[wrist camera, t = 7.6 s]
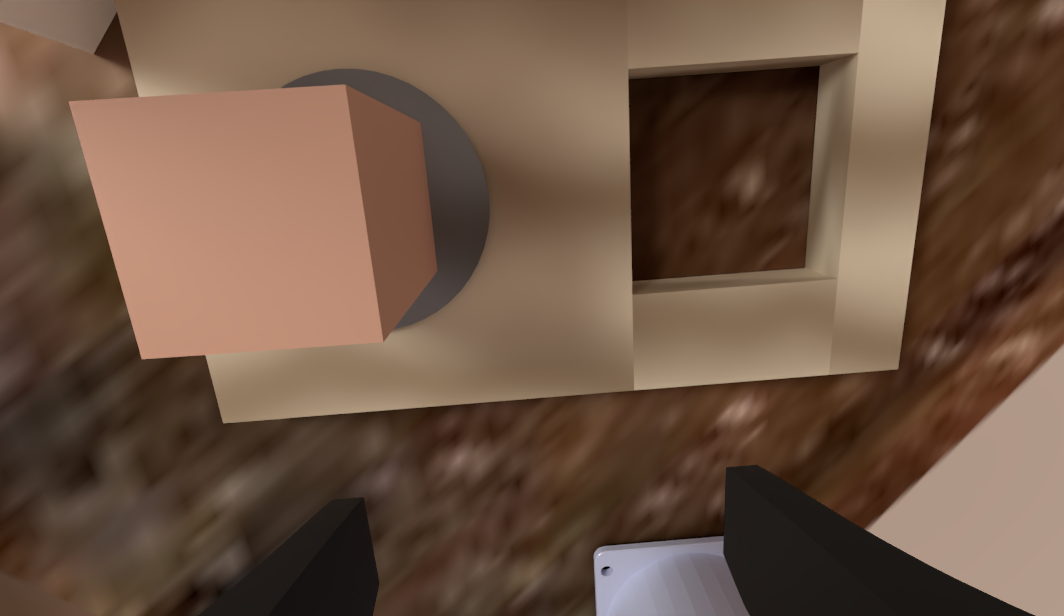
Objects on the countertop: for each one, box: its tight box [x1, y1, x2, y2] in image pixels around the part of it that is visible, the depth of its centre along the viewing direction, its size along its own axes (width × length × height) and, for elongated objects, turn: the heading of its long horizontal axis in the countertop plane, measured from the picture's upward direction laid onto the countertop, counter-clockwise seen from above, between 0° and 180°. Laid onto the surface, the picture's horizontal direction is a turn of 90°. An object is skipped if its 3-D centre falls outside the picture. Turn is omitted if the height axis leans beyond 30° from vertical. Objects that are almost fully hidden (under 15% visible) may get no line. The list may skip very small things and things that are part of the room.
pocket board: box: [114, 0, 946, 423], centre depth 17 cm, size 14×24×2 cm, turn 94°
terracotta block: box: [69, 84, 438, 359], centre depth 12 cm, size 4×4×7 cm
